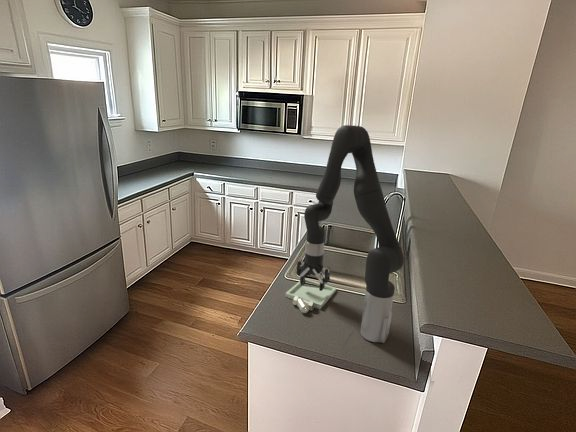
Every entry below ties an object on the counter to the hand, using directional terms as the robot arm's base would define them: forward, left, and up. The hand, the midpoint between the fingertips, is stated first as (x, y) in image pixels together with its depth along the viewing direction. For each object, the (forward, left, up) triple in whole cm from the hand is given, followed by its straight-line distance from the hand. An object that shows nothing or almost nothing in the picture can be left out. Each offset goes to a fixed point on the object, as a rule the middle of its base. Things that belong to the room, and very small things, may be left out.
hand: (311, 287), depth 141 cm
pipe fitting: (-2, +15, -2) cm, 15 cm away
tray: (0, 0, -4) cm, 4 cm away
